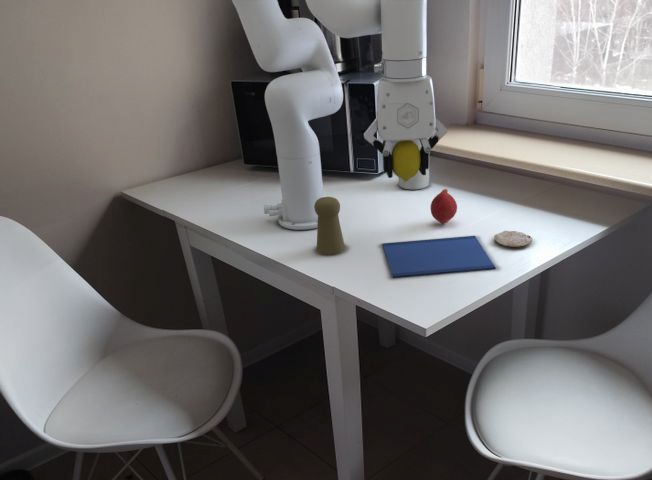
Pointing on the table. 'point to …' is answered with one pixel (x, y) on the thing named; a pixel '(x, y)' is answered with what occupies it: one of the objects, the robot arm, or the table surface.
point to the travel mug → (416, 176)
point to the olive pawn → (328, 227)
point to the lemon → (406, 159)
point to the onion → (443, 207)
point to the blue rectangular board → (436, 256)
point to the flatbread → (513, 238)
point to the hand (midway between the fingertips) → (406, 173)
